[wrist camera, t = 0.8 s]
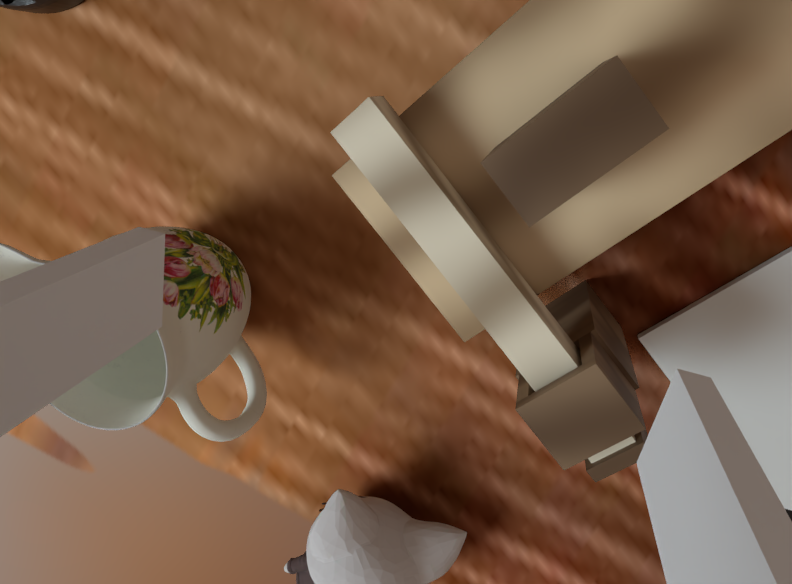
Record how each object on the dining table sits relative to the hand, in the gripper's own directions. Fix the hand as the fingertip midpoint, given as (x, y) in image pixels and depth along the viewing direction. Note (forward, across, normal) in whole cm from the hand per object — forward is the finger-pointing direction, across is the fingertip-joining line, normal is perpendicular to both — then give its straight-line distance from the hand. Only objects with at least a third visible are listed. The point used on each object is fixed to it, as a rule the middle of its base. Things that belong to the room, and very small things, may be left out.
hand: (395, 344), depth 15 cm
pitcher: (+26, -18, -13) cm, 34 cm away
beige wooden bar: (+17, +2, -3) cm, 17 cm away
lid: (+19, +4, +4) cm, 20 cm away
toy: (+25, -1, -30) cm, 39 cm away
